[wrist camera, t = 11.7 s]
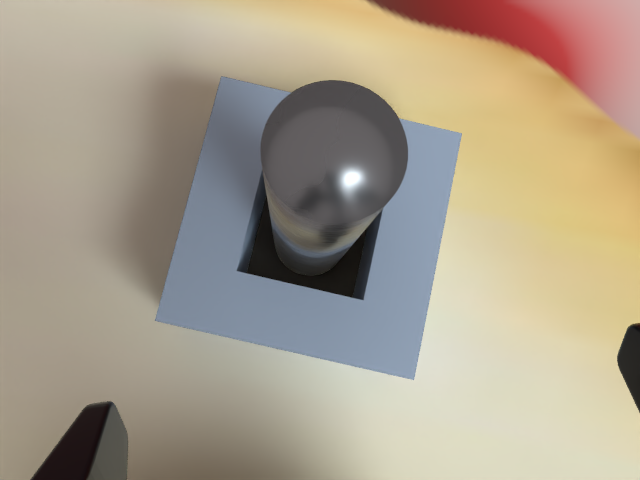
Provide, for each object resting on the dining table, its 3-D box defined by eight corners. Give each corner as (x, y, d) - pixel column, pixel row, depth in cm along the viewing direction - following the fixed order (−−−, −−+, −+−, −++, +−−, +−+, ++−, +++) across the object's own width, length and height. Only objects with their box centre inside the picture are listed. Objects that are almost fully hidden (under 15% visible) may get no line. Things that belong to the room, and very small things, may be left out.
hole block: (392, 370, 23) (413, 379, 19) (177, 321, 23) (154, 320, 19) (433, 164, 24) (461, 133, 21) (232, 116, 24) (221, 76, 20)
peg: (304, 290, 23) (323, 254, 11) (259, 234, 24) (229, 137, 11) (359, 246, 24) (438, 163, 11) (315, 191, 24) (345, 52, 12)
